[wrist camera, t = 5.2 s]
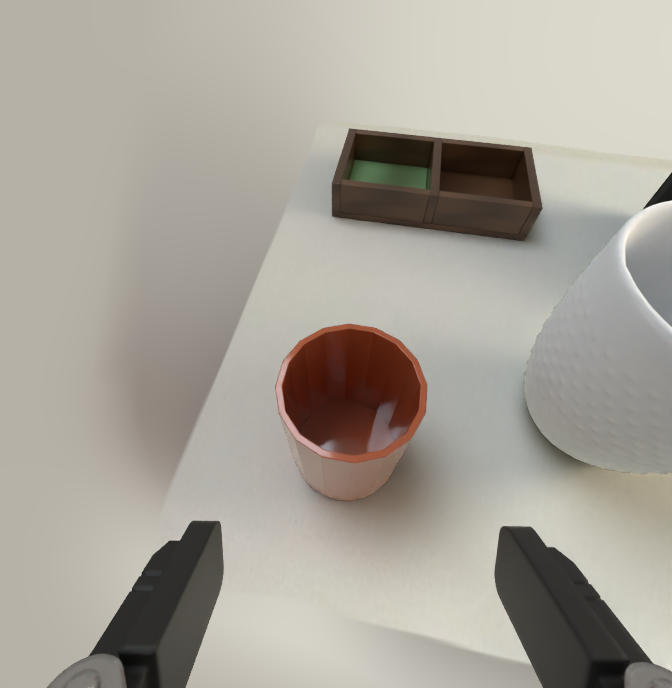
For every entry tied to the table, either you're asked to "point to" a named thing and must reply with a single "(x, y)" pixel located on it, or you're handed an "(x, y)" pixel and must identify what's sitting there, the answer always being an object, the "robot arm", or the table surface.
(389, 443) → the cup
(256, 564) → the table surface
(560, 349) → the mug
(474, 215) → the holder
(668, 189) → the camera
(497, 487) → the table surface
